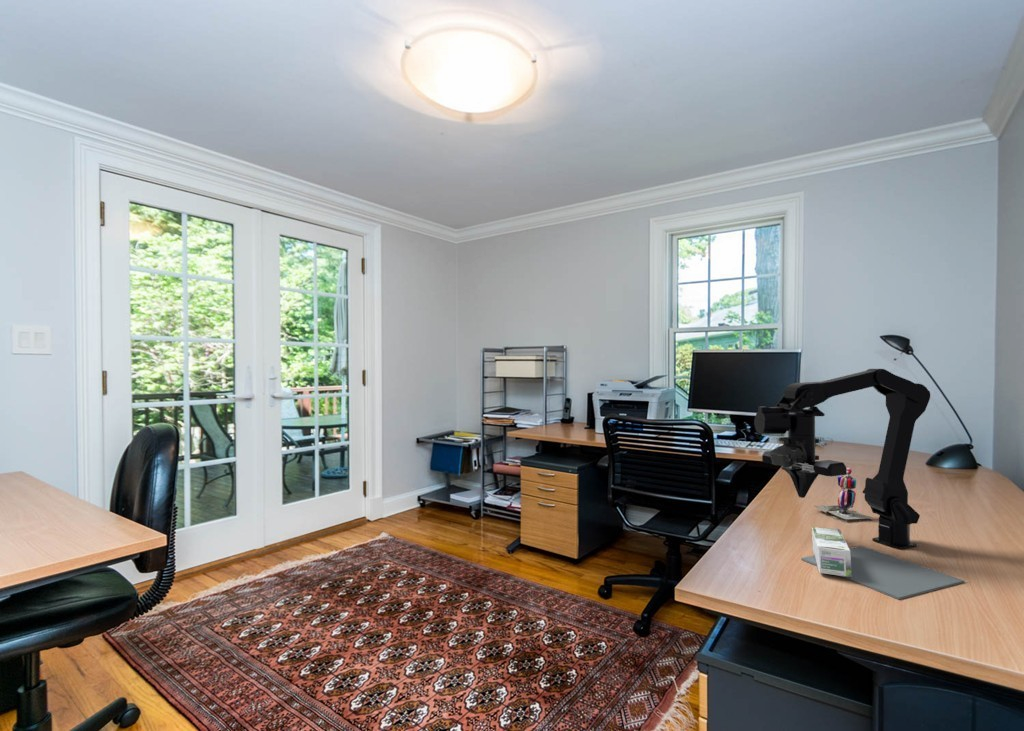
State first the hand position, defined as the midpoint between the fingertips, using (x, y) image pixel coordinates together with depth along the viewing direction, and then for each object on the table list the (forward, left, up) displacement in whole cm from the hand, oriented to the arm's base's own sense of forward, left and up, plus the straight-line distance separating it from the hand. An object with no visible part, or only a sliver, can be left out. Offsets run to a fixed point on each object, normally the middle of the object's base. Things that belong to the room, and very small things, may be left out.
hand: (801, 497), depth 119 cm
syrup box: (+1, +7, -8) cm, 11 cm away
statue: (-30, -11, -11) cm, 34 cm away
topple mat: (0, +18, -11) cm, 21 cm away
